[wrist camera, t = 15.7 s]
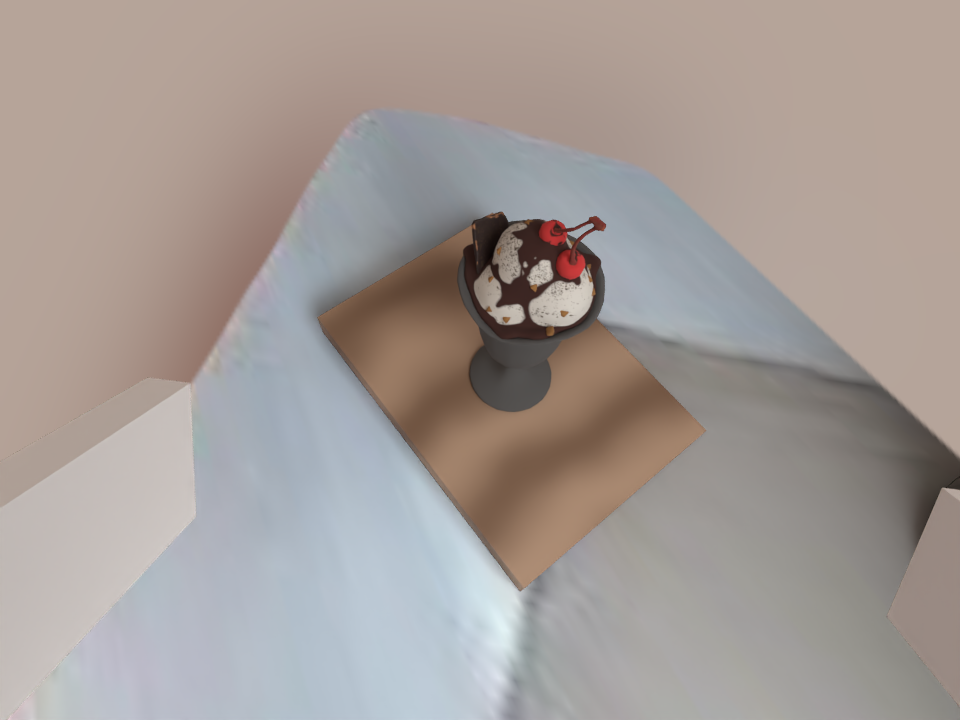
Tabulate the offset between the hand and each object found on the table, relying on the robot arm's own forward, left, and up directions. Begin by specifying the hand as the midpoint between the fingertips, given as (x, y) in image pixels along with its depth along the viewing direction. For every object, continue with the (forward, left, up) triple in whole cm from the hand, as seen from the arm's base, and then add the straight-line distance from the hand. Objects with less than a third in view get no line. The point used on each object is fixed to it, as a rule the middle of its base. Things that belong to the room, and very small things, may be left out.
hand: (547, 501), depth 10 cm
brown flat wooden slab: (+9, -9, -23) cm, 27 cm away
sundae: (+9, -9, -22) cm, 25 cm away
